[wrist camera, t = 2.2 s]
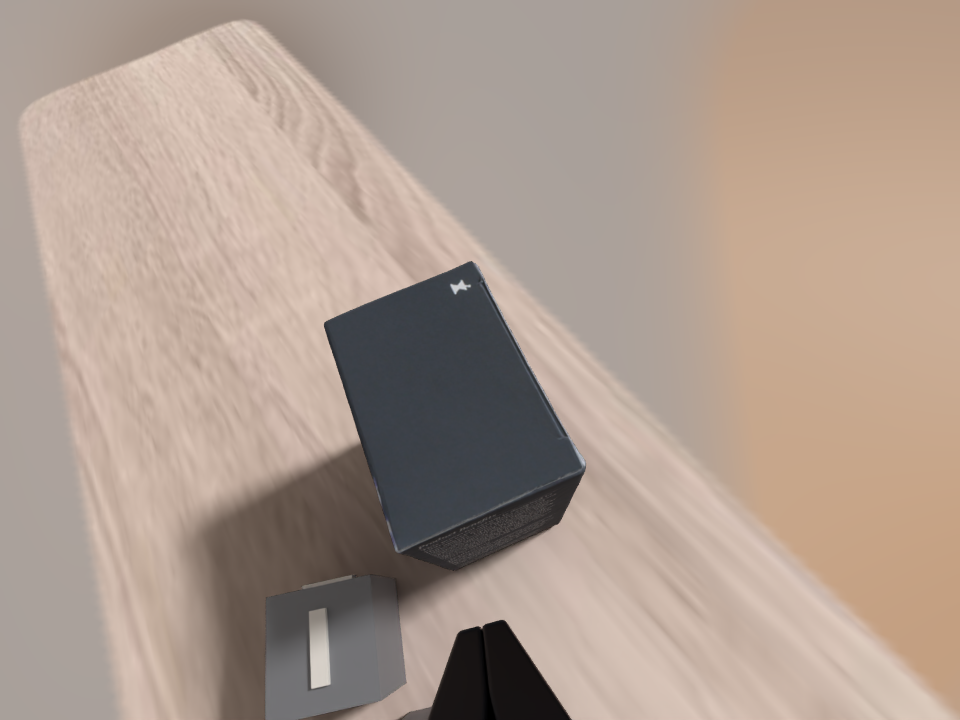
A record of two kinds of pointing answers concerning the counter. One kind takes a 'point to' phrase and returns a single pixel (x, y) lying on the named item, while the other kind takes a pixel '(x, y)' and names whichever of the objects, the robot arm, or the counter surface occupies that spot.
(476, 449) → the box
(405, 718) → the marked cube one
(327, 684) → the marked cube seven
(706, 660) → the counter surface
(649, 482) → the counter surface
